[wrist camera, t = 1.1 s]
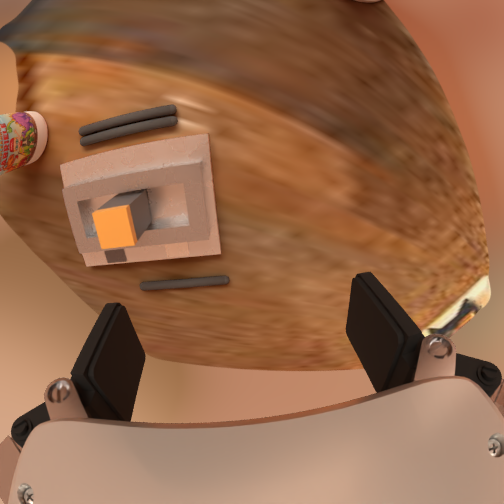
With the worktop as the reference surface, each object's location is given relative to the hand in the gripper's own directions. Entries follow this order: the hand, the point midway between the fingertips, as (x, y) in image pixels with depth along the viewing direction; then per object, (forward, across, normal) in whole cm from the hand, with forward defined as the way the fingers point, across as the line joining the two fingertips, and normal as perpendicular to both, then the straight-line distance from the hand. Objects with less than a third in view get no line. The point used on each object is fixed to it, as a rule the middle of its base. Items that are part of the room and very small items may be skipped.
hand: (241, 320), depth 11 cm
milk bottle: (+25, +28, -13) cm, 39 cm away
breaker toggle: (+23, +12, 0) cm, 26 cm away
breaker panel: (+25, +12, 0) cm, 27 cm away
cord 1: (+24, +12, -11) cm, 29 cm away
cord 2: (+25, +8, +12) cm, 29 cm away
